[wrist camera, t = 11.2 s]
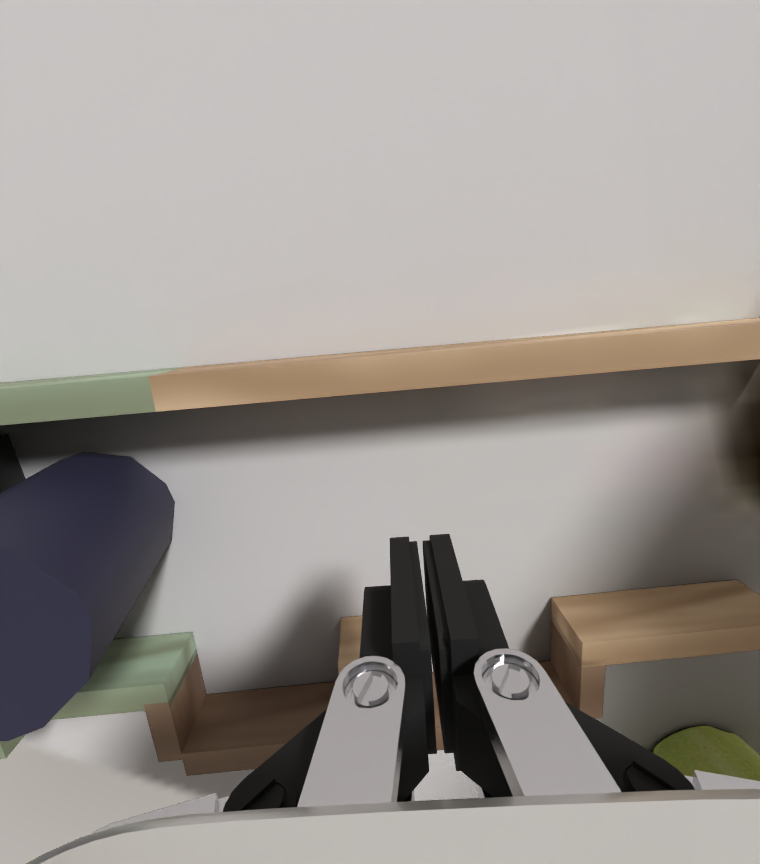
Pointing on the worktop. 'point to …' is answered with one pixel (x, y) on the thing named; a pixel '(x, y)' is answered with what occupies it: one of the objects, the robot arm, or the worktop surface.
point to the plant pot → (710, 753)
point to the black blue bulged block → (70, 573)
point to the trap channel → (299, 705)
